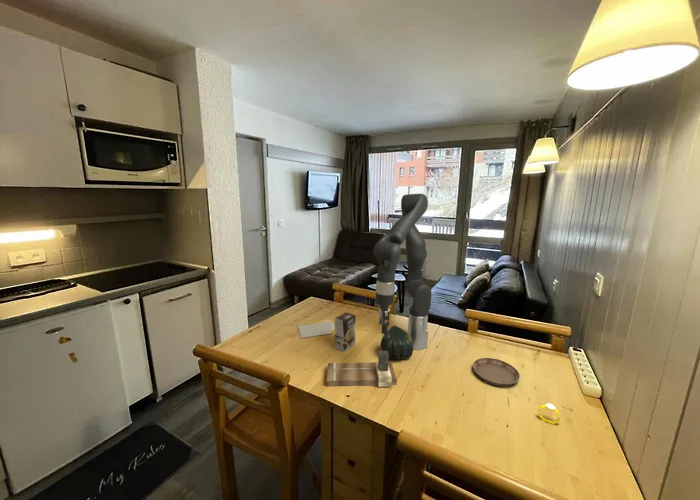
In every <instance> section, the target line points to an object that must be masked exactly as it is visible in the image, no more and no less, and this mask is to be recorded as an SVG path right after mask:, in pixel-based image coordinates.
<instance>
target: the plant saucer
mask: <svg viewBox="0 0 700 500" xmlns="http://www.w3.org/2000/svg"><path fill="white" fill-rule="evenodd" d="M472 363H473V364H472V367H473V369H474V372H475V373H476V375H477V376H478V377H479V378H480V379H481V380H483V381H484V382H486V383H488V384H491V385H493V386H497V387H509V386H512V385H514V384H516V383H517V382H518V381H520V377H521V376H520V373H519V370H517V368H515V366H513V365H512V364H510V363H508V362H507V361H504V360H501V359H498V358H491V357H481V358H477V359H476V360H474V361H473V362H472Z"/></svg>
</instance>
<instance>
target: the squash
mask: <svg viewBox="0 0 700 500" xmlns="http://www.w3.org/2000/svg"><path fill="white" fill-rule="evenodd" d="M380 347H381V351H388V355H389V360H396V361H397V360H400V359H404V360H406V359H410V358H411V357H412V355H413V354H414V349H413V340H412V338H411V336H410V335H409V334H408V331H406V330H404V329H403V328H401V327H399V326H397V325H392V326H391V327H390V328H389V329H387V334H383V336H382V337H381V340H380Z"/></svg>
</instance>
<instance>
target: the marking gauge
mask: <svg viewBox="0 0 700 500" xmlns="http://www.w3.org/2000/svg"><path fill="white" fill-rule="evenodd" d="M389 360H390V359H389V355H388V351H382V350H379V351H378V362H379V363H376V370H377V375H378V385H377V386H378V387H379V388H381V387H382V388H384V387H387V388H388V387H389V388H390V387H392V385H391V381H392V376H391V373H390V369H389V366H388V362H390V361H389Z"/></svg>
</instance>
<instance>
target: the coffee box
mask: <svg viewBox="0 0 700 500" xmlns="http://www.w3.org/2000/svg"><path fill="white" fill-rule="evenodd" d="M356 320H357V319H356V314H354V313H350V312H344V313H342V314H340V315H338V316H336V317H334V325H335V330H334V348H335V350H339V351H341V352H344V353H345V352H346V351H348V350H350V349H351V348H353V347H354V346H356Z"/></svg>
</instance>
